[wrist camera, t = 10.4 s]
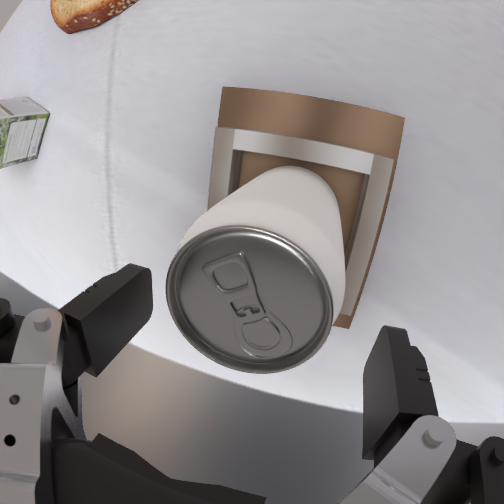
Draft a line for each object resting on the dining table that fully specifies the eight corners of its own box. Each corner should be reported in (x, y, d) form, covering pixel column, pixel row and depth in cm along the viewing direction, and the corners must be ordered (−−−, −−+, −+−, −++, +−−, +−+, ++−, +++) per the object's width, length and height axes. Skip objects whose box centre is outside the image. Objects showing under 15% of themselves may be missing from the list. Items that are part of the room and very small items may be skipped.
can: (267, 268, 22) (210, 391, 12) (228, 187, 21) (123, 254, 10) (352, 239, 20) (370, 361, 9) (316, 149, 18) (299, 174, 8)
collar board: (399, 118, 17) (415, 116, 14) (348, 318, 24) (349, 348, 20) (229, 89, 19) (208, 81, 16) (209, 286, 26) (190, 311, 22)
